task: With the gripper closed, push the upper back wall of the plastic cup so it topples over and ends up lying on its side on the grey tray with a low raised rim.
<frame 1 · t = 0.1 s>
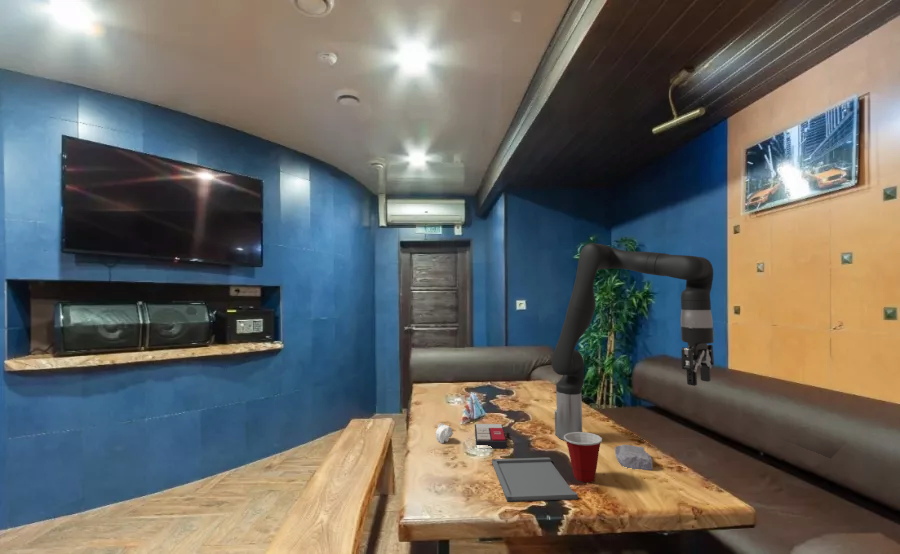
hand: (699, 383, 101), 29 cm above the table, tool pointing down, fingers open, 8 cm apart
plastic cup: (583, 478, 106), on the table
stone block: (631, 462, 116), on the table
elephant figurine: (444, 441, 133), on the table
grey and red box: (490, 441, 134), on the table
grey tray: (530, 479, 105), on the table
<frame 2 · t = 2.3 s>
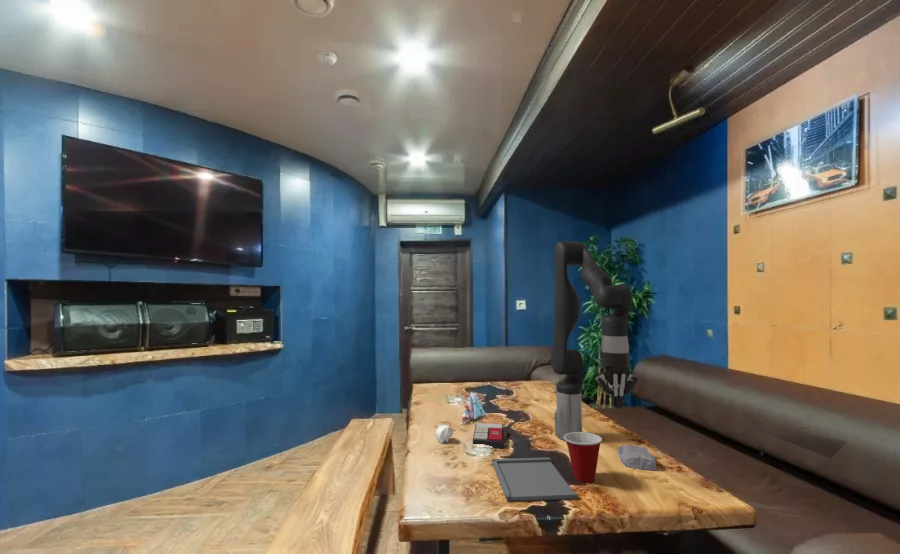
hand: (617, 408, 108), 20 cm above the table, tool pointing down, fingers closed
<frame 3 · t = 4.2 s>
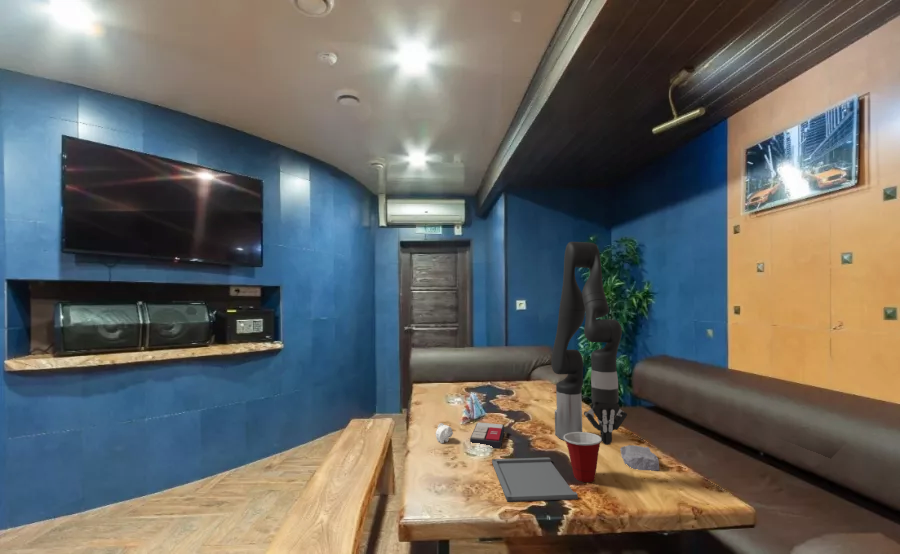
hand: (606, 443, 107), 10 cm above the table, tool pointing down, fingers closed
plastic cup: (583, 478, 106), on the table, touching gripper
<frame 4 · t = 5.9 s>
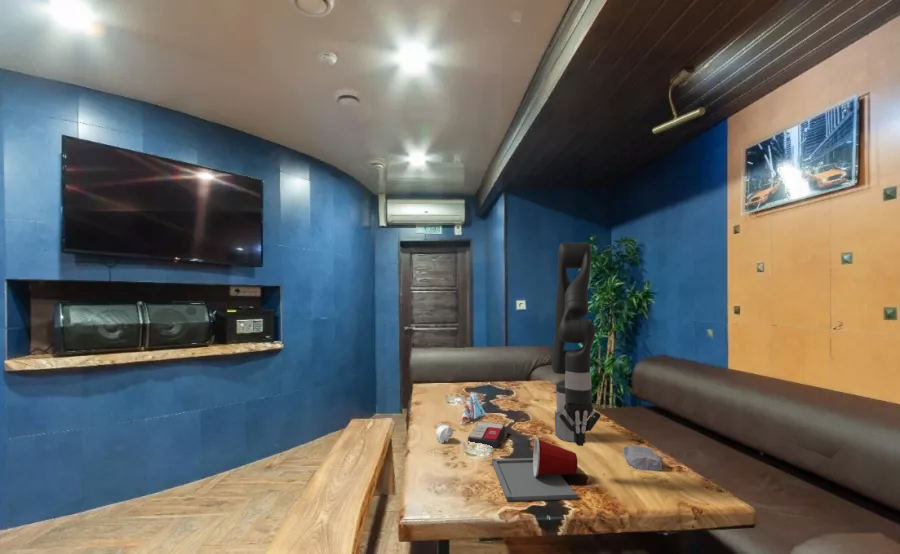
hand: (579, 444, 106), 10 cm above the table, tool pointing down, fingers closed
plastic cup: (575, 463, 106), point 4 cm above the table, touching grey tray
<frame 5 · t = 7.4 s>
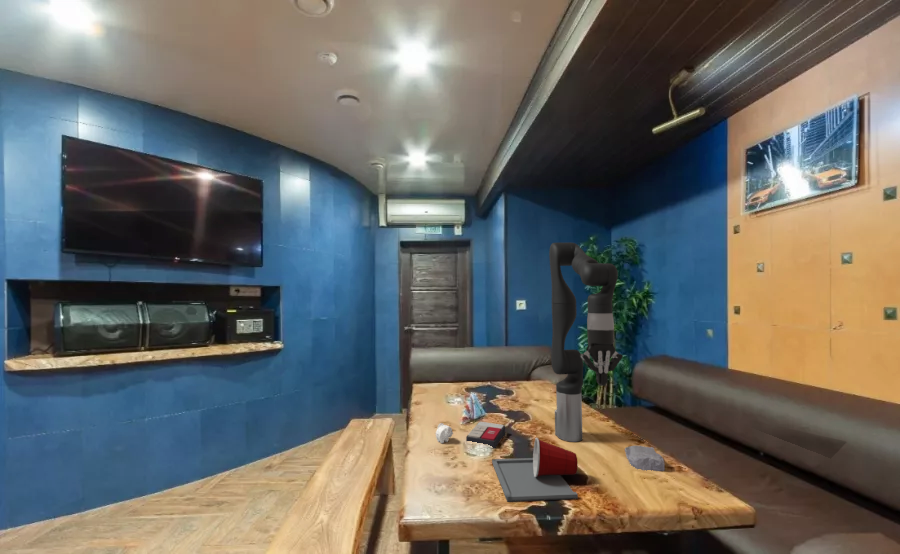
hand: (601, 385, 108), 27 cm above the table, tool pointing down, fingers closed
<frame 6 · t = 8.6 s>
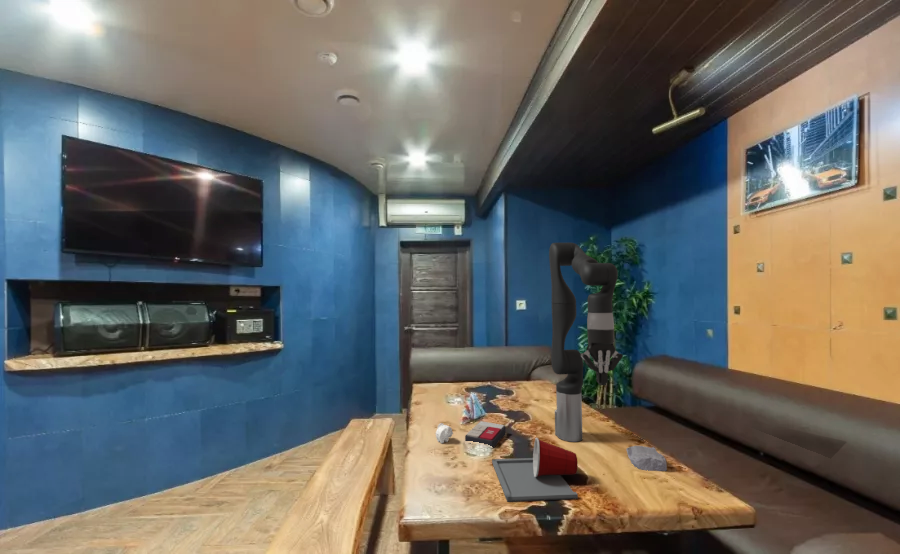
hand: (602, 384, 108), 27 cm above the table, tool pointing down, fingers closed
at the end: plastic cup tilted 82°; plastic cup touching grey tray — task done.
